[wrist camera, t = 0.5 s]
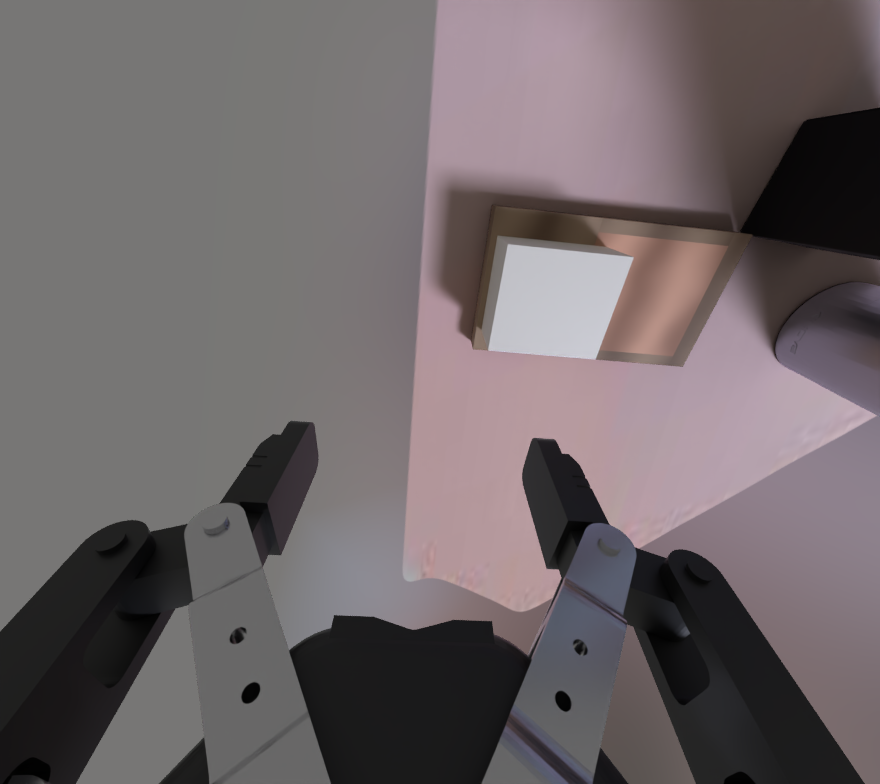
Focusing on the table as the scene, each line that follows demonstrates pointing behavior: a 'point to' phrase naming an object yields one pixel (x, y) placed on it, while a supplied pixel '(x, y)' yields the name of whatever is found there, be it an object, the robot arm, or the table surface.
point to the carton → (552, 297)
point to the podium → (634, 277)
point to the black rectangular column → (826, 188)
